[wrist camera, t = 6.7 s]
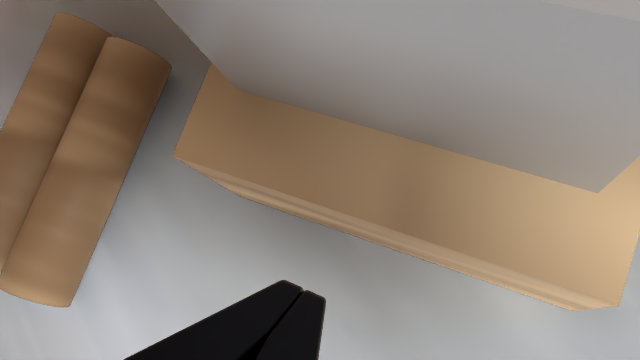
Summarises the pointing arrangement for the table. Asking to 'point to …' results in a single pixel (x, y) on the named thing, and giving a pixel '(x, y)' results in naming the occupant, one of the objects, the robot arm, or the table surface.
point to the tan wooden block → (419, 197)
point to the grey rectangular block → (446, 72)
